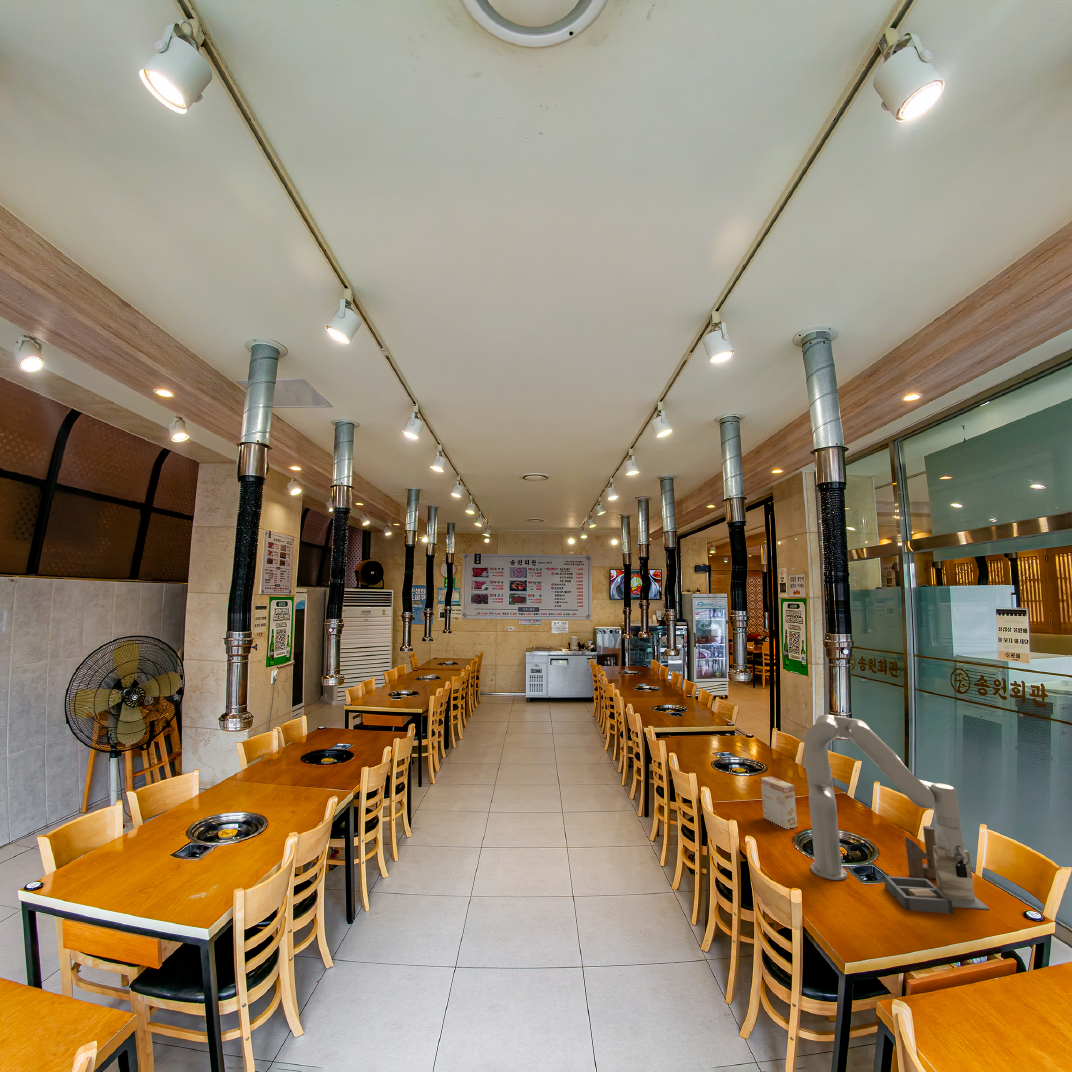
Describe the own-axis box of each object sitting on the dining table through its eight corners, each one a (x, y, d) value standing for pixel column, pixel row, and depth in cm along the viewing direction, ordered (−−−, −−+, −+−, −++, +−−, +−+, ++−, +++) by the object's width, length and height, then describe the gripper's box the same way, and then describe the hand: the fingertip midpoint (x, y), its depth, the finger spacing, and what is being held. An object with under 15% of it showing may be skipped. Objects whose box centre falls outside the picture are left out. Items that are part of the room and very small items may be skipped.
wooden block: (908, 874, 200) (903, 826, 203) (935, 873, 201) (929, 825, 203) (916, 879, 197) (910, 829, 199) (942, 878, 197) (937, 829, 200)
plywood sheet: (938, 892, 187) (932, 846, 189) (968, 894, 185) (962, 847, 187) (943, 897, 183) (938, 850, 185) (975, 900, 182) (969, 852, 184)
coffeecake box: (798, 827, 244) (794, 785, 246) (786, 830, 241) (783, 786, 244) (774, 816, 258) (771, 775, 260) (763, 818, 255) (760, 777, 258)
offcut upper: (909, 896, 182) (908, 889, 182) (929, 896, 182) (928, 889, 182) (917, 903, 178) (916, 895, 178) (937, 903, 178) (936, 895, 178)
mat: (927, 888, 191) (927, 886, 191) (966, 890, 188) (966, 889, 188) (947, 906, 179) (947, 905, 179) (989, 909, 177) (989, 908, 177)
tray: (885, 887, 192) (884, 875, 192) (928, 890, 189) (926, 878, 190) (906, 910, 177) (905, 897, 178) (953, 913, 175) (951, 901, 175)
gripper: (922, 810, 197) (928, 858, 194) (950, 829, 180) (957, 882, 177) (944, 811, 196) (950, 859, 193) (974, 831, 179) (981, 883, 176)
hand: (953, 870), depth 185 cm, fingers open, 9 cm apart
